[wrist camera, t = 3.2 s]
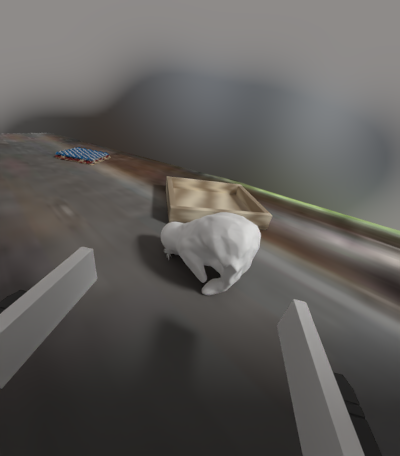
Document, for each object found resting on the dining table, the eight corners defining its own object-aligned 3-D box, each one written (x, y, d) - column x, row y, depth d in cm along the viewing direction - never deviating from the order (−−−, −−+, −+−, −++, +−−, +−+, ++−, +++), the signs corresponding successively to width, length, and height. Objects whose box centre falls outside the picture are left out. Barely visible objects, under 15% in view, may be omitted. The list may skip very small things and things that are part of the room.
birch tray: (237, 196, 49) (240, 184, 48) (266, 229, 36) (272, 215, 34) (165, 188, 45) (166, 176, 43) (169, 224, 32) (170, 208, 30)
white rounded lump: (249, 240, 15) (144, 198, 21) (230, 315, 19) (146, 262, 25) (273, 216, 20) (182, 188, 25) (254, 280, 23) (179, 243, 29)
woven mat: (52, 160, 50) (51, 151, 49) (78, 153, 59) (77, 146, 58) (93, 167, 50) (92, 159, 49) (112, 159, 59) (111, 152, 58)
